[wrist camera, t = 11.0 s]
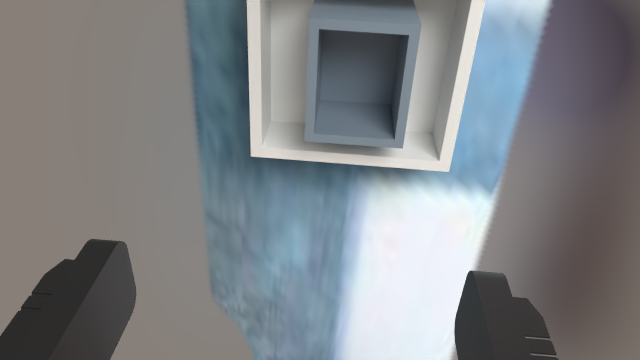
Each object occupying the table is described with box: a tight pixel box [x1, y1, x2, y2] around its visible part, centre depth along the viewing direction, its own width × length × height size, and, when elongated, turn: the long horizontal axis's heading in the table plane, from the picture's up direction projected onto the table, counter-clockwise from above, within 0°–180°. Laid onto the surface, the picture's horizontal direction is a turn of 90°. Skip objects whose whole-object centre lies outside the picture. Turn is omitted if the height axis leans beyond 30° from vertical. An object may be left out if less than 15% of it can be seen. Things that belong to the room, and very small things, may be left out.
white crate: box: [247, 0, 486, 172], centre depth 36 cm, size 13×14×5 cm
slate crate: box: [305, 0, 421, 149], centre depth 34 cm, size 8×6×6 cm
